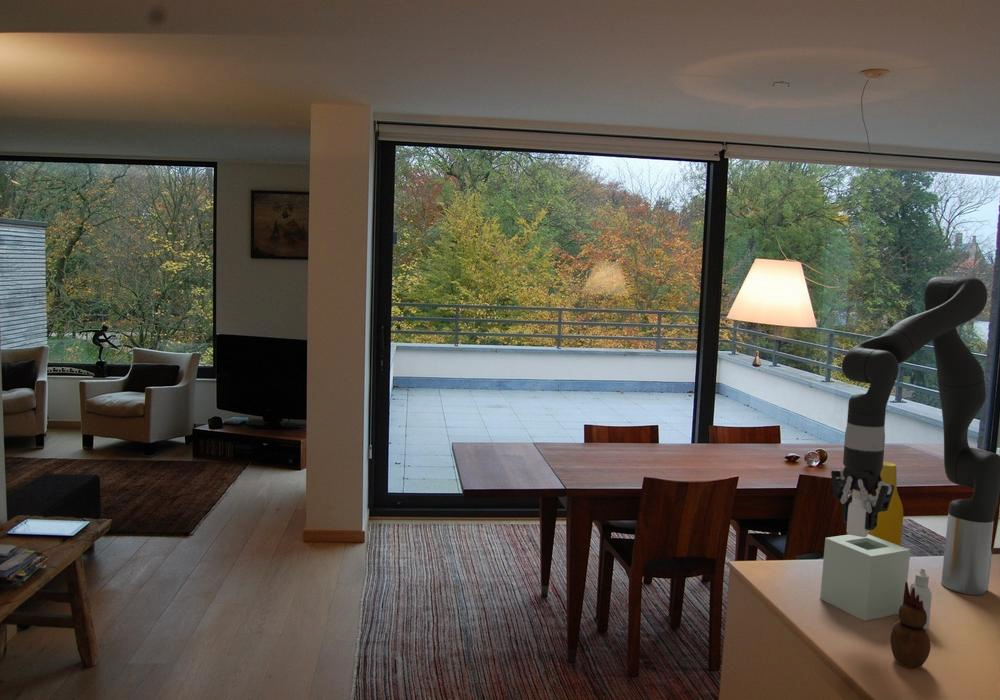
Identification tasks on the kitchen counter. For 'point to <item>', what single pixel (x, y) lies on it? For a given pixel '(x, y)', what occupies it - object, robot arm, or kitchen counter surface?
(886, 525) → the beer bottle
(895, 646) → the wooden figurine
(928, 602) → the eye dropper bottle
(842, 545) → the tissue box
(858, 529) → the salt shaker
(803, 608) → the kitchen counter surface
